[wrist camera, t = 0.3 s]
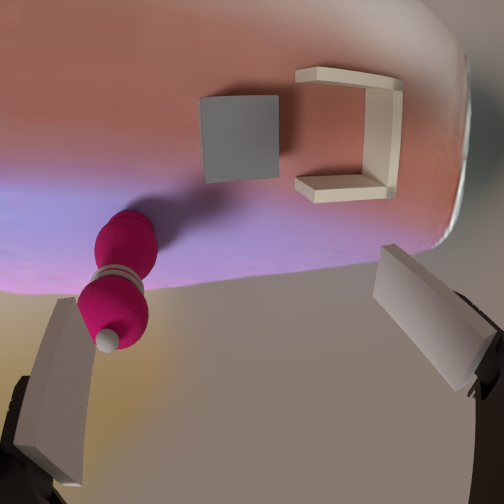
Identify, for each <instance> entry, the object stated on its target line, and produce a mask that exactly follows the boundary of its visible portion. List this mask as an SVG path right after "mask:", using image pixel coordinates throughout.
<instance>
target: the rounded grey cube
mask: <svg viewBox="0 0 504 504" xmlns="http://www.w3.org/2000/svg"><path fill="white" fill-rule="evenodd" d="M198 122H199V140H200V157H201V169H202V171H203V173H204V177H205V183H206V184H209V183H219V182H229V181H240V180H252V179H265V178H279V95H242V96H217V97H202V98H200V100H198Z"/></svg>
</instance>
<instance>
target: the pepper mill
mask: <svg viewBox="0 0 504 504" xmlns="http://www.w3.org/2000/svg"><path fill="white" fill-rule="evenodd" d="M94 252H95V259H96V264H97V266H98V269H99V270H97V271H96V272H95V274H94V275H93V277H92V279H91V282H90V283H89V284H88V285H87V286H86V287H85V288H84V289H83V291H82V292H81V294H80V297H79V299H78V303H77V306H78V308H79V310H80V313H81V315H82V318H83V320H84V322H85V324H86V327H87V329H88V331H89V333H90V336H91V338H92V340H93V342H94V344H95V345H97V347H98V348H99V349H100V350H101V351H103V352H105V353H112V352H114V351H115V350H118V349H124V348H127V347H129V346H131V345H133V344H135V343H136V342H137V341H138V340H139V339H140V338H141V336H142V335H143V333H144V331H145V329H146V327H147V323H148V306H147V302H146V300H145V298H144V286H143V283H142V280H143V279H144V278H145V277H146V276H147V275H148V274H149V273H150V271H151V270H152V268H153V267H154V264H155V261H156V258H157V253H158V246H157V241H156V238H155V233H154V228H153V226H152V223H151V222H150V221H149V219H148V218H147V217H146V216H144V215H143V214H141V213H139V212H136V211H122V212H119V213H117V214H116V215H114V216H113V217H112V218H111V219H110V221H109V222H108V223H107V224H106V225H105V226H104V227H103V228H102V229H101V231H100V232H99V234H98V236H97V239H96V243H95V249H94Z"/></svg>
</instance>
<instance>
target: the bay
mask: <svg viewBox="0 0 504 504" xmlns="http://www.w3.org/2000/svg"><path fill="white" fill-rule="evenodd" d="M295 82H296V83H313V84H326V85H337V86H346V87H355V88H363V89H365V127H364V147H363V163H362V174H361V175H330V176H308V177H295V189H296V190H297V191H299V192H300V193H301V194H303V195H304V196H305V197H307V198H308V199H309V200H311V201H312V202H313V203H325V202H337V201H351V200H365V199H381V198H395V192H396V184H397V175H398V166H399V155H400V142H401V127H402V105H403V80H401V79H396V78H391V77H386V76H381V75H375V74H369V73H363V72H357V71H350V70H343V69H335V68H326V67H312V68H306V69H301V70H296V71H295Z"/></svg>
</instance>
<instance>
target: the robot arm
mask: <svg viewBox="0 0 504 504" xmlns="http://www.w3.org/2000/svg"><path fill="white" fill-rule="evenodd" d="M373 297H374V298H375V299H376V300H377V301H378V302H379V304H380V305H382V307H383V308H384V309H385V310H386V311H387V312H388V314H389V315H390V316H391V317H392V318H393V319H394V320H395V321H396V322H397V324H398V325H399V326H400V327H401V328H402V329H403V330H404V332H405V333H406V334H407V335H408V336H409V337H410V338H411V340H412V341H413V342H414V343H415V344H416V345H417V346H418V348H419V349H420V350H421V351H422V352H423V353H424V355H425V356H426V357H427V358H428V359H429V360H430V362H431V363H432V364H433V365H434V366H435V368H436V369H437V370H438V371H439V372H440V373H441V375H442V376H443V377H444V378H445V380H446V381H447V382H448V383H449V384H450V386H451V387H452V388H453V389H454V391H457V390H458V389H460V388H462V387H463V386H465V385H467V384H468V382H469V381H470V379H471V378H472V376H473V374H474V373H475V374H476V375H477V377H478V378H477V379H476V381H475V383H474V384H473V386H472V387H471V389H470V390H469V392H468V395H467V396H468V397H470V395H471V394H472V393H473V391H474V390H475V394H474V395H473V398H475V400H476V426H475V427H476V428H475V449H474V463H473V474H472V482H471V490H470V496H469V503H468V504H504V331H503V330H501V329H500V328H499V327H498V326H497V325H496V324H495V323H494V322H493V321H492V320H491V319H489V318H488V317H487V316H486V315H485V314H484V313H483V312H482V311H479V309H478V308H477V307H476V306H475V305H473V304H472V302H471V301H469V300H468V299H467V298H466V297H465V296H463V295H461V294H459V293H457V292H455V291H452V290H451V289H450V288H449V287H447V286H446V285H445V284H444V283H443V282H442V281H440V280H439V279H438V278H437V277H435V276H434V275H433V274H432V273H431V272H429V271H428V270H427V269H426V268H425V267H423V266H422V265H421V264H420V263H418V262H417V261H416V260H415V259H413V258H412V257H411V256H410V255H408V254H407V253H406V252H404V251H403V250H402V249H401V248H399V247H398V246H397V245H395V244H390V245H385V246H381V253H380V259H379V264H378V270H377V276H376V281H375V286H374V291H373ZM95 351H96V347H95V344H94V342H93V340H92V338H91V336H90V333H89V331H88V329H87V327H86V324H85V322H84V320H83V318H82V315H81V313H80V310H79V308H78V306H77V303H76V301H75V298H74V297H71V298H64V299H58V301H57V303H56V306H55V308H54V310H53V313H52V315H51V318H50V321H49V323H48V326H47V328H46V331H45V334H44V336H43V339H42V342H41V345H40V348H39V350H38V353H37V356H36V359H35V362H34V366H33V369H32V372H31V375H30V376H22V377H21V379H20V380H19V381H18V383H17V384H16V386H15V388H14V391H13V394H12V397H11V400H12V401H10V405H9V411H8V412H7V415H6V420H5V423H4V427H3V431H2V436H1V441H0V504H67V503H66V502H65V501H64V499H63V498H62V497H61V496H60V494H59V493H58V491H57V490H56V489H55V488H54V487H53V478H54V479H55V480H56V481H57V482H59V483H60V484H62V485H67V486H82V472H83V451H84V437H85V425H86V415H87V406H88V397H89V390H90V382H91V376H92V368H93V363H94V357H95Z"/></svg>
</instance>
